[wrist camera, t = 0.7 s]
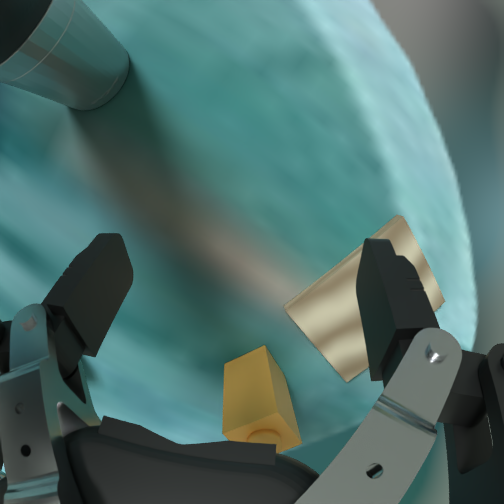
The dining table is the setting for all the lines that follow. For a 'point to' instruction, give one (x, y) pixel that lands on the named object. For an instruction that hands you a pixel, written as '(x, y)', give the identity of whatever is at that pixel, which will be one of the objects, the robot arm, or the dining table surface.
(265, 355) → the tall orange toy brick
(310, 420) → the dining table surface
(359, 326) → the beige board with knob
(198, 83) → the dining table surface
